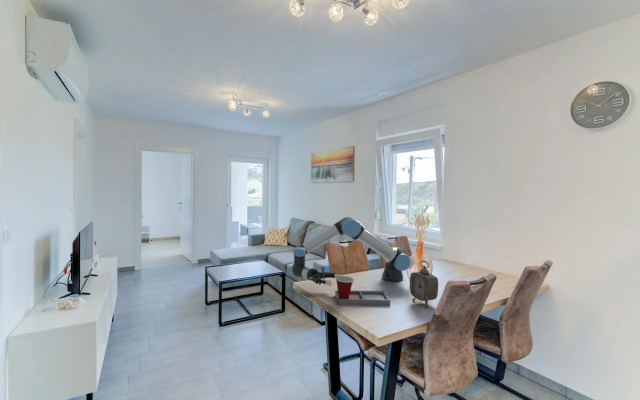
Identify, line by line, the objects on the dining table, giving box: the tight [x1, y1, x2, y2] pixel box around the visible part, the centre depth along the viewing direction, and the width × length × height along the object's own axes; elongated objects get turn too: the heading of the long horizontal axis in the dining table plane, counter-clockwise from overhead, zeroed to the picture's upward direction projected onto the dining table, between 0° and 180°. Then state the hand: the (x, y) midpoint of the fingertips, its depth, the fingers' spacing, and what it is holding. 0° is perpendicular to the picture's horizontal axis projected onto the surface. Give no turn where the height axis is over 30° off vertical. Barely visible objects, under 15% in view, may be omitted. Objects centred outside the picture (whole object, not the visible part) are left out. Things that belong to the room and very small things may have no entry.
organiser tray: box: [334, 289, 391, 306], centre depth 179 cm, size 30×16×3 cm, turn 91°
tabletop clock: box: [409, 260, 439, 309], centre depth 174 cm, size 14×9×25 cm, turn 21°
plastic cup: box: [335, 275, 355, 299], centre depth 178 cm, size 11×11×12 cm
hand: (337, 280), depth 184 cm, fingers open, 13 cm apart
